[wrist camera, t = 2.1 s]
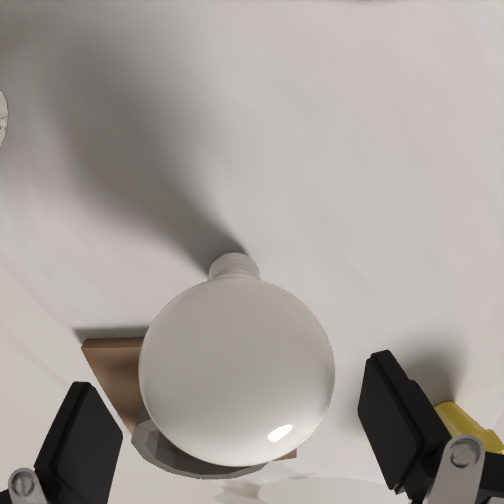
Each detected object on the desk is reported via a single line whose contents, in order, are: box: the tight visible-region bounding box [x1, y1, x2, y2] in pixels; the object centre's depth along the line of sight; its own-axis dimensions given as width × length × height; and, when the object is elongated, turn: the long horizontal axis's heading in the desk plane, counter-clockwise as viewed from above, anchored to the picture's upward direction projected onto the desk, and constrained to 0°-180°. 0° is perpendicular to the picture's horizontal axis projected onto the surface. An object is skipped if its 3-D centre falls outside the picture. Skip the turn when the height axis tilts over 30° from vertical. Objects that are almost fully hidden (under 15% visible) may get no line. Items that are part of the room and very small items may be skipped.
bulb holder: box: [81, 337, 296, 479], centre depth 19 cm, size 16×14×4 cm
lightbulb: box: [138, 253, 335, 467], centre depth 11 cm, size 6×6×11 cm
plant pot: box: [434, 401, 504, 454], centre depth 21 cm, size 10×10×10 cm
